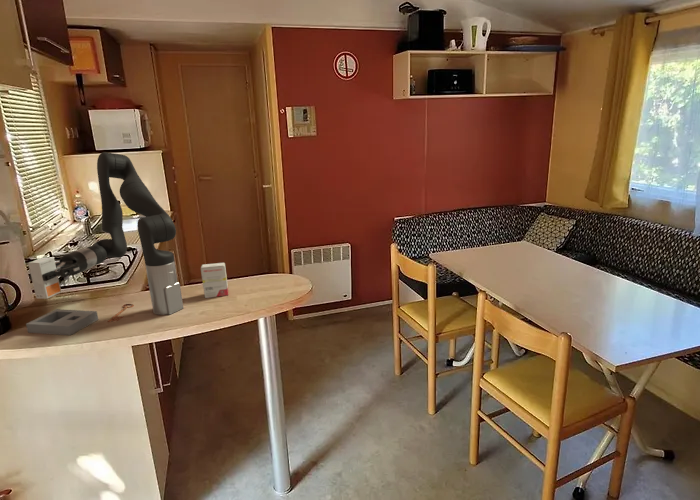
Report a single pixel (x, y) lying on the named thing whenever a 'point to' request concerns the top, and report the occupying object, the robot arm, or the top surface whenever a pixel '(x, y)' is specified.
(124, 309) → the key
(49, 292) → the skincare box
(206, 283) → the ink box
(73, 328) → the holder
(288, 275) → the top surface
